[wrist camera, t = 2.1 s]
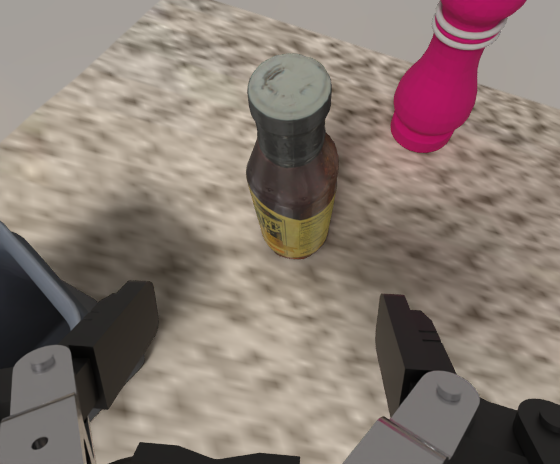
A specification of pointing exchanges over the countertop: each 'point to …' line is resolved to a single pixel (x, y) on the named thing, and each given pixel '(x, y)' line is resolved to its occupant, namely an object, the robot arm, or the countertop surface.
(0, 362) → the storage bin
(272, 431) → the countertop surface
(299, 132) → the sauce bottle
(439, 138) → the pepper mill
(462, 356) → the countertop surface
